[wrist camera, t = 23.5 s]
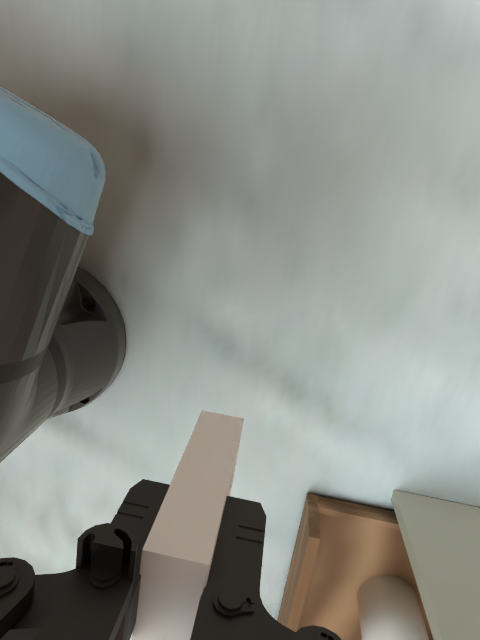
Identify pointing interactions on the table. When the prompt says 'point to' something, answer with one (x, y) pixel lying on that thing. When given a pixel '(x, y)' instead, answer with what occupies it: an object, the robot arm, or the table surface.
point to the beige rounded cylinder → (389, 610)
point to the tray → (341, 564)
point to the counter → (443, 561)
